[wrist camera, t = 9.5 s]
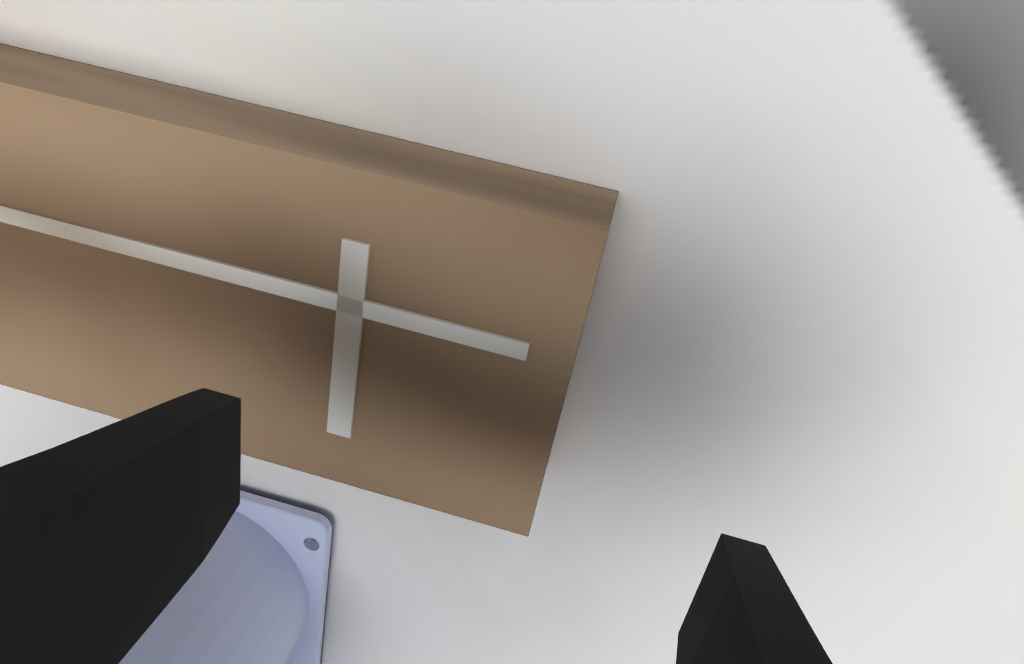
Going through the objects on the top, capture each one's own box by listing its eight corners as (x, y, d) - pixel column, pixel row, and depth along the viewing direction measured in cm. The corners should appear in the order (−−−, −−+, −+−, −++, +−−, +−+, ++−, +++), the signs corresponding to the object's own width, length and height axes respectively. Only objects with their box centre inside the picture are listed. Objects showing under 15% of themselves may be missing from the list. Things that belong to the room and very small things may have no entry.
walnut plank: (546, 464, 20) (527, 539, 17) (-197, 257, 22) (-317, 295, 20) (618, 191, 16) (608, 232, 14) (-280, -24, 19) (-444, -26, 16)
